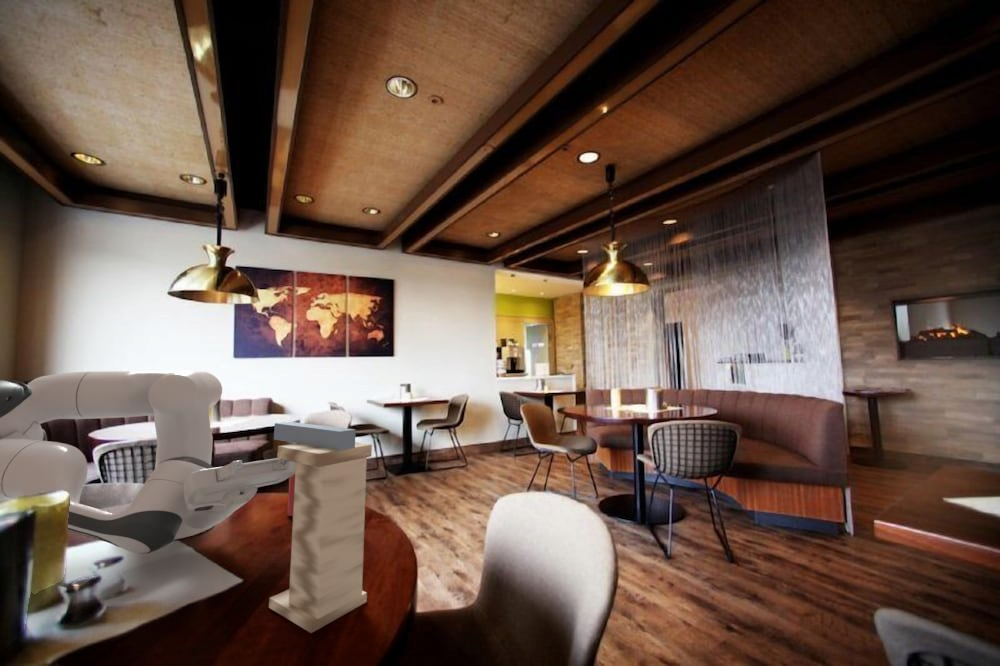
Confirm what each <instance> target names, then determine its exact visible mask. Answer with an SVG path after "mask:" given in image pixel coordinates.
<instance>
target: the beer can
mask: <svg viewBox="0 0 1000 666" xmlns="http://www.w3.org/2000/svg"><path fill="white" fill-rule="evenodd" d="M294 490H295V474H294V475H293V476H291V477H289V478H288V496H287V497H288V499H287V500H288V501H287V515H288V516H289V517H290V516H292V517H291V518H293V509H294Z"/></svg>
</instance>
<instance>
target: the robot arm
mask: <svg viewBox="0 0 1000 666" xmlns="http://www.w3.org/2000/svg"><path fill="white" fill-rule="evenodd" d="M222 394H223V386H222V384H221V381H220V380H219V379H218V378H217V377H216V376H215V375H213V374H212V373H209V372H207V371H202V370H173V371H172V370H166V371H165V370H164V371H163V370H161V371H157V370H156V371H155V370H153V371H150V370H146V371H139V370H138V371H135V370H134V371H133V370H132V371H131V370H130V371H129V370H128V371H127V370H126V371H122V370H120V371H75V372H64V373H63V372H62V373H56V374H49V375H43V376H39V377H37V378H34V379H33V380H31V381H30V382H29V383H27V384H26V383H24V382H23V381H20V380H19V381H18V380H14V379H13V380H12V379H9V380H2V379H0V498H6V499H14V498H13V497H16V496H22V495H29V494H37V493H44V492H49V491H55V490H64V491H67V492H68V493H69V494H70V506H69V518H68V531H67V532H69V533H74V534H78V535H81V536H85V537H88V538H92V539H95V540H98V541H102V542H104V543H108V544H111V545H114V546H116V547H118V548H121V549H124V550H126V551H128V552H132V553H137V554H145V555H146V554H151V553H153V552H156V551H158V550H160V549H162V548H165V547H166V546H167V545H168V544H171V543H172V542H173V541H175V540H179V539H184V538H188V537H191V536H195V535H198V534H200V533H203V532H206V531H207V530H210V529H212V528H213V527H214V526H216V525H218V524H220V523H222V522H223V521H225V520H226V519H227V518H229V517H230V516H231V515H232V514H234V513H235V512H236V511H237V510H238V509H239V510H240V508H241V507H243V506H244V505H245V504H247V503H248V502H249V501H250V500H252V499H253V497H254V496H255V495H256V494H257V491H258V488H261V487H265V486H270V485H275V484H279V483H282V482H284V481H286V480H289V478H290V477H291V476H293V475H294V474H295V470H296V462H292V461H288V460H283V459H278V458H277V457H276V458H270V459H269V458H268V459H264V460H263V459H262V460H261V459H260V460H256V461H250V462H244V463H243V460H242V459H239V460H233V461H231V462H230V463H229V464H226V465H224V466H218V467H214V466H213V465H212V456H213V455H212V452H213V439H214V437H213V433H212V429H211V423H210V421H211V420H210V409H212V408H213V407H214V406H215V405H216V404H217V403H218V402H219V401H220V399H221V397H222ZM146 416H147V417H149V416H153V418H154V419H153V420H154V421H153V422H154V426H155V432H156V433H155V434H156V453H155V454H156V455H155V463H154V464H155V465H154V470H153V471H152V472H151V474H150V475H148V476H146V478H147V479H146V480H145V482H144V484H143V485H142V487H141V488H140V490H139V491H138V492H137V494H136V495H135V496H134V498H133V499H132V501H131V502H130V503H129V504H127V506H126V507H125V509H123V510H121V511H119V512H110V511H106V510H104V509H101V508H97V507H94V506H93V507H92V506H89V505H88V504H87V505H86V504H82V503H80V500H81V494H82V491H83V489H84V485H85V483H86V481H87V478H88V471H89V470H88V468H89V467H88V461H87V458H86V455H85V454H84V453H83V451H81V450H80V449H79V448H77V447H76V446H73V445H71V444H68V443H62V442H59V441H50V440H49V441H48V436H47V434H46V431H45V429H43V428H42V425H41V424H43V423H47V422H51V421H54V420H61V419H62V420H86V419H87V420H90V419H91V420H92V419H113V418H114V419H117V418H119V419H120V418H133V417H134V418H135V417H146Z"/></svg>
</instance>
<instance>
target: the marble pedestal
mask: <svg viewBox="0 0 1000 666" xmlns="http://www.w3.org/2000/svg"><path fill="white" fill-rule="evenodd" d="M372 446H373V445H372V444H369V443H362V442H356V441H355V448H350V449H345V450H334V449H328V448H322V447H316V446H310V445H304V444H298V443H291V444H284V445H277V457H276V458H278V459H283V460H288V461H292V462H296V470H295V490H294V509H293V517H292V529H291V530H292V532H291V553H290V570H289V571H290V572H289V573H290V574H289V588H288V589H286V590H284V591H282V592H280V593H277V594H274V595H272V596H270V597H269V602H268V608H269V609H270V610H272V611H274V612H276V614H279V615H280V616H282V617H284V618H286V620H289V621H290V622H292V623H294V624H295V625H297V626H298V627H300V628H302V629H303V630H305V631H306V632H308V633H309V634H312V633H314V632H316V631H318V630H320V629H322V628H323V627H325V626H327V625H328V624H330V623H332V622H334V621H335V620H337V619H339V618H341V617H343V616H344V615H346V614H347V613H350V612H351V611H353V610H355V609H356V608H359V607H361V606H362V605H363V604H366V603H367V599H368V592H366V591H364V590H363V576H364V574H363V573H364V572H363V571H364V550H365V549H364V546H365V545H364V544H365V522H366V521H365V517H366V516H365V514H366V485H367V484H366V483H367V458H370V457H372V451H373V450H372V448H373V447H372Z"/></svg>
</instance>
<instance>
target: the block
mask: <svg viewBox="0 0 1000 666" xmlns="http://www.w3.org/2000/svg"><path fill="white" fill-rule="evenodd" d="M273 440H275V441H283V442H288V443H291V444H297V443H298V444H304V445H310V446H316V447H322V448H328V449H334V450H345V449H350V448H355V442H356V429H353V428H346V427H345V428H344V427H343V428H342V427H336V426H329V425H320V424H314V423H313V424H312V423H303V422H296V421H285V422H284V421H283V422H282V421H281V422H275V423H274V431H273Z"/></svg>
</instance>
